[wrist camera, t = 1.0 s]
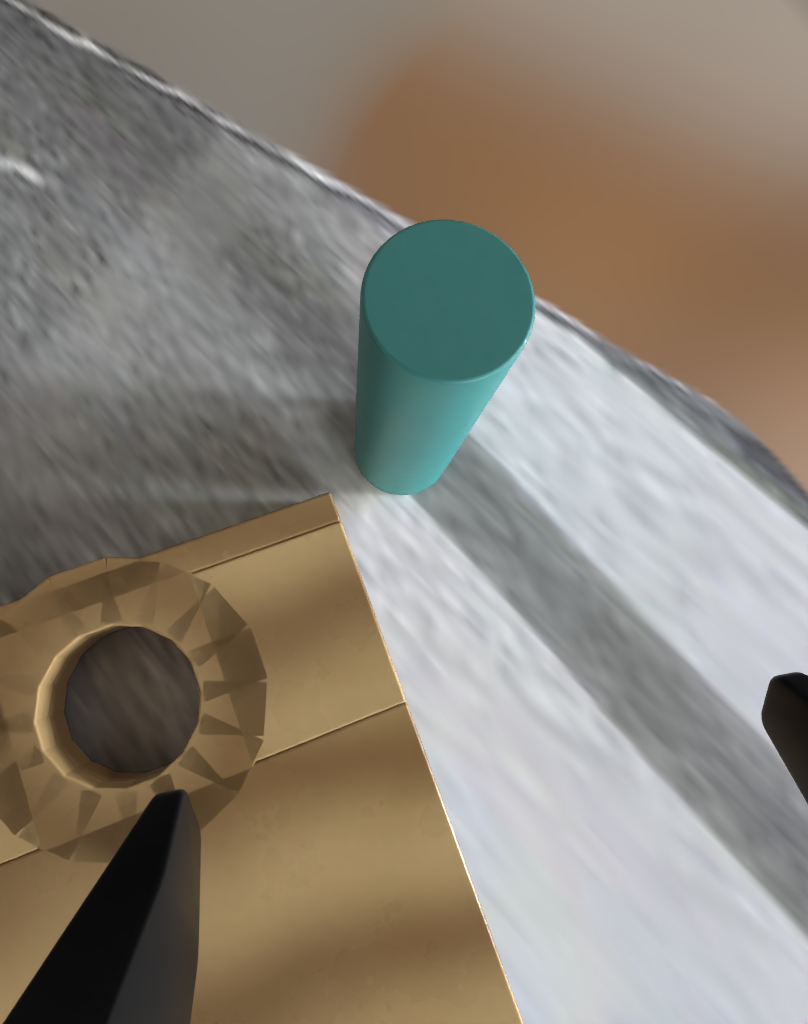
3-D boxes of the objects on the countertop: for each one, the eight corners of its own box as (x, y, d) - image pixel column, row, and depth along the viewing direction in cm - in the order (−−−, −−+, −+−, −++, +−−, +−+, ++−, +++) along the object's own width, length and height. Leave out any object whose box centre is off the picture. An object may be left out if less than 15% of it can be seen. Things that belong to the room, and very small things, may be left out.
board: (547, 1097, 20) (569, 1148, 18) (99, 1325, 18) (69, 1410, 16) (328, 492, 23) (326, 480, 21) (-86, 635, 21) (-132, 637, 19)
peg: (462, 477, 23) (563, 351, 12) (373, 508, 23) (398, 406, 12) (428, 391, 24) (497, 198, 13) (340, 420, 23) (335, 245, 12)
